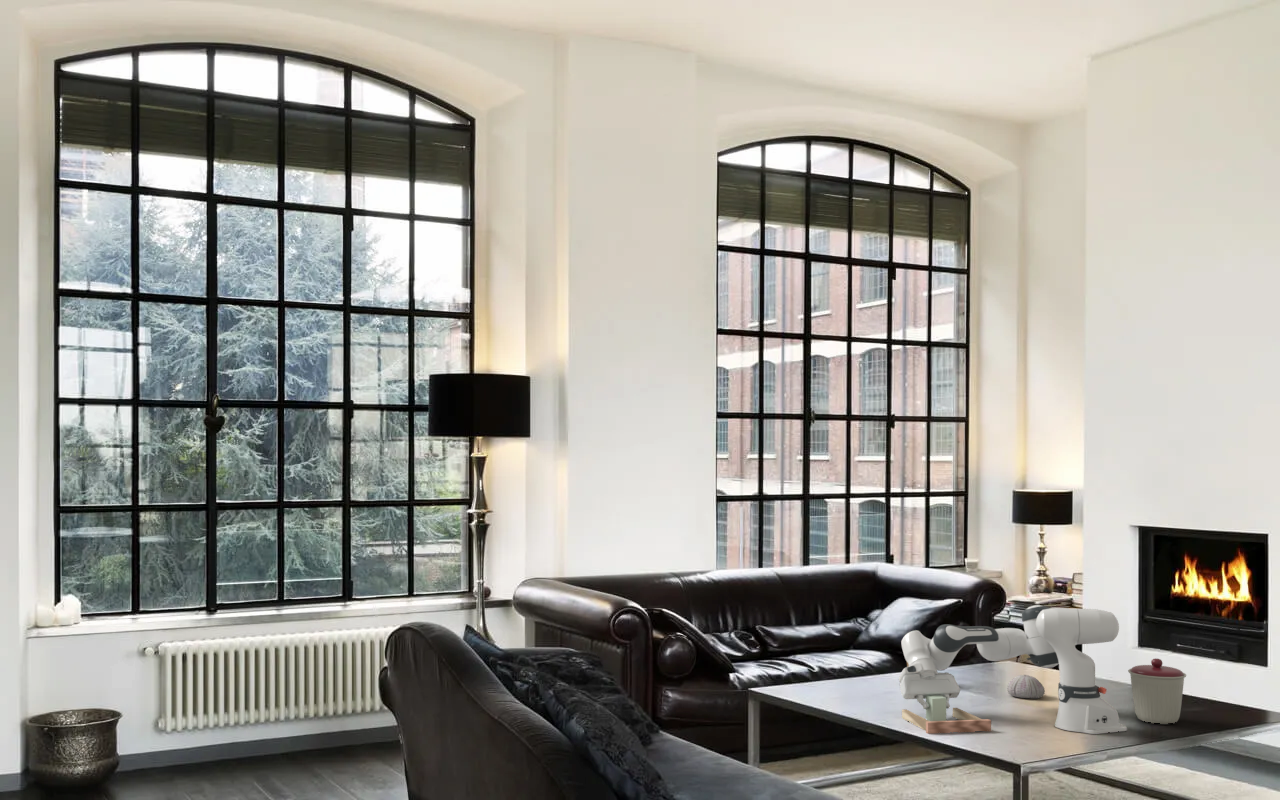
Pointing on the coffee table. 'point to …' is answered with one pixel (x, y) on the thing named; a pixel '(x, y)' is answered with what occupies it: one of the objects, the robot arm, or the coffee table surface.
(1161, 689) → the canister
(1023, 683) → the sea urchin shell
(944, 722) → the bay
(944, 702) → the pale green block
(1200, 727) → the coffee table surface
